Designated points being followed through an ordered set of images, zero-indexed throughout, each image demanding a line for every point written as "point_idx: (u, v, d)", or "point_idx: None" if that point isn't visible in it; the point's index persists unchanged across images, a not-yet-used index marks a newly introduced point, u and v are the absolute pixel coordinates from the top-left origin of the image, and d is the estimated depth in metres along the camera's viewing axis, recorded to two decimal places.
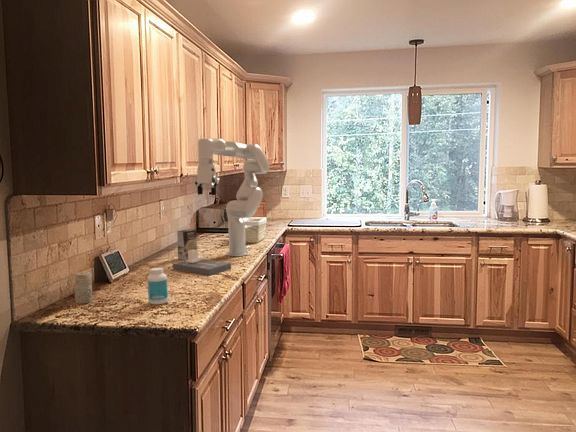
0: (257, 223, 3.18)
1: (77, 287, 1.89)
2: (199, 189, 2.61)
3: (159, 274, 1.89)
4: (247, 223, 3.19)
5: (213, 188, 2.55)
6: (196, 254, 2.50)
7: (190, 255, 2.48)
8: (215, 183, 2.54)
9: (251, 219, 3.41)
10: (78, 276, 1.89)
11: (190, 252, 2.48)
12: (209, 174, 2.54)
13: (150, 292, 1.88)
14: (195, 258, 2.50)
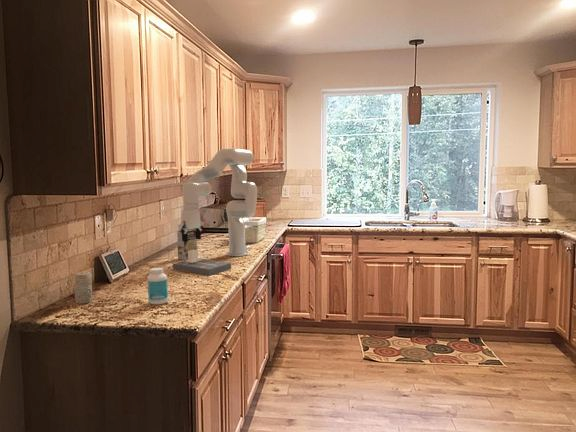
0: (256, 223, 3.18)
1: (77, 287, 1.89)
2: None
3: (159, 274, 1.89)
4: (246, 223, 3.19)
5: None
6: (196, 254, 2.50)
7: (190, 255, 2.48)
8: (202, 227, 2.53)
9: (251, 219, 3.41)
10: (78, 276, 1.89)
11: (190, 252, 2.48)
12: (199, 218, 2.50)
13: (150, 292, 1.88)
14: (195, 258, 2.50)
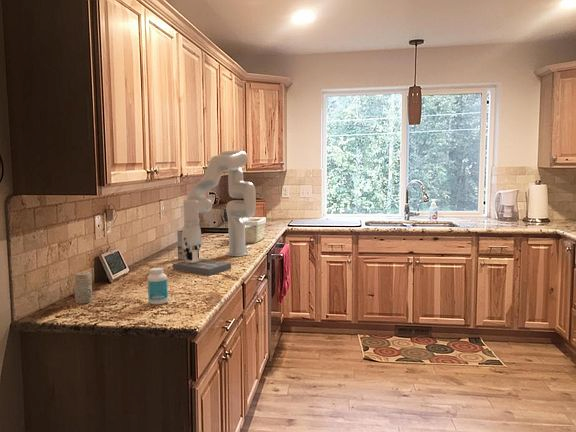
0: (255, 223, 3.18)
1: (77, 287, 1.89)
2: None
3: (159, 274, 1.89)
4: (246, 223, 3.19)
5: (198, 251, 2.52)
6: (196, 254, 2.50)
7: None
8: (200, 245, 2.53)
9: (250, 219, 3.41)
10: (78, 276, 1.89)
11: None
12: (200, 235, 2.51)
13: (150, 292, 1.88)
14: (195, 258, 2.50)
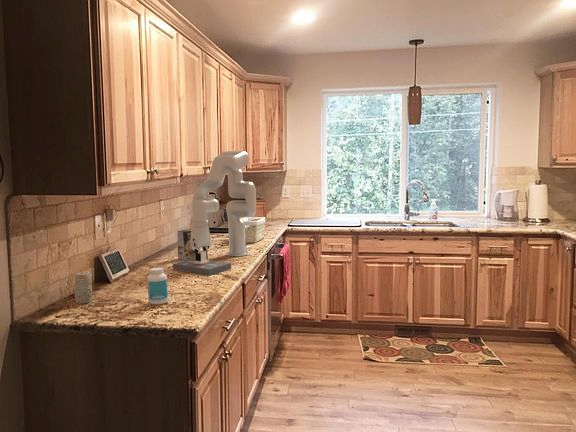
0: (255, 223, 3.18)
1: (77, 287, 1.89)
2: None
3: (159, 274, 1.89)
4: (245, 223, 3.19)
5: (206, 252, 2.49)
6: (205, 255, 2.47)
7: None
8: (208, 246, 2.50)
9: (250, 219, 3.41)
10: (78, 276, 1.89)
11: None
12: (209, 235, 2.48)
13: (150, 292, 1.88)
14: (204, 259, 2.46)
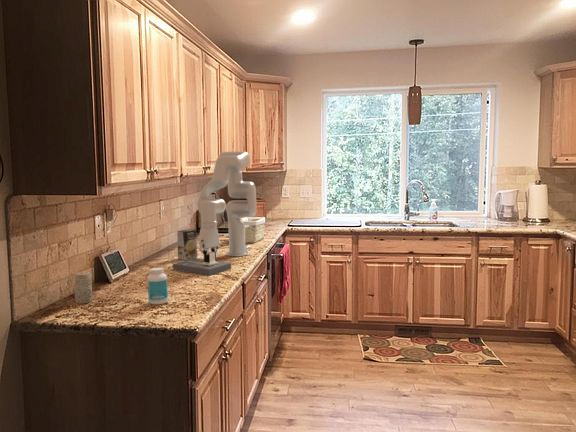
0: (254, 223, 3.18)
1: (77, 287, 1.89)
2: None
3: (159, 274, 1.89)
4: (244, 223, 3.19)
5: (215, 253, 2.45)
6: (213, 256, 2.44)
7: None
8: (217, 247, 2.46)
9: (250, 219, 3.41)
10: (78, 276, 1.89)
11: None
12: (218, 236, 2.45)
13: (150, 292, 1.88)
14: (212, 260, 2.43)
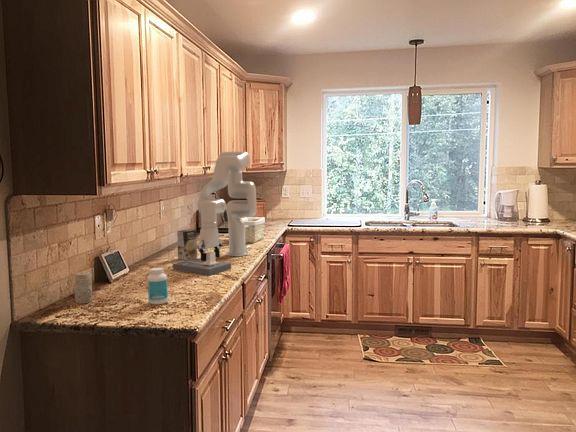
0: (253, 223, 3.18)
1: (77, 287, 1.89)
2: None
3: (159, 274, 1.89)
4: (244, 223, 3.19)
5: None
6: (214, 256, 2.43)
7: (207, 257, 2.42)
8: (220, 244, 2.48)
9: (250, 219, 3.41)
10: (78, 276, 1.89)
11: (208, 254, 2.41)
12: (218, 236, 2.45)
13: (150, 292, 1.88)
14: (213, 260, 2.43)
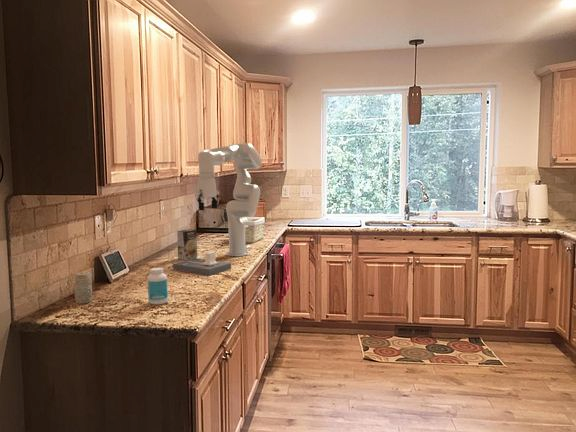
0: (253, 223, 3.18)
1: (77, 287, 1.89)
2: None
3: (159, 274, 1.89)
4: None
5: None
6: (214, 256, 2.43)
7: (207, 257, 2.42)
8: (218, 196, 2.56)
9: (249, 219, 3.41)
10: (78, 276, 1.89)
11: (208, 254, 2.41)
12: (215, 187, 2.52)
13: (150, 292, 1.88)
14: (213, 260, 2.43)
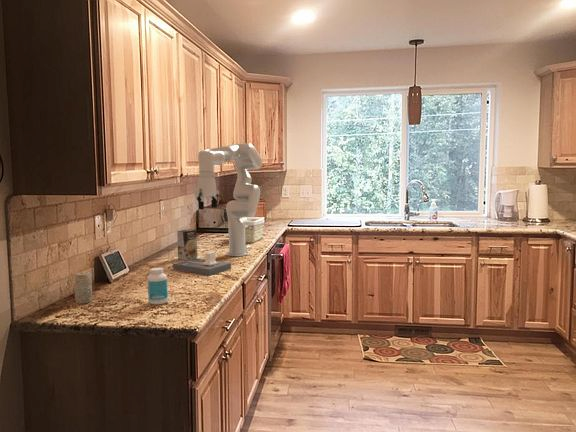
0: (252, 223, 3.18)
1: (77, 287, 1.89)
2: None
3: (159, 274, 1.89)
4: None
5: None
6: (214, 256, 2.43)
7: (207, 257, 2.42)
8: (218, 195, 2.56)
9: (249, 219, 3.41)
10: (78, 276, 1.89)
11: (208, 254, 2.41)
12: (215, 186, 2.53)
13: (150, 292, 1.88)
14: (213, 260, 2.43)
